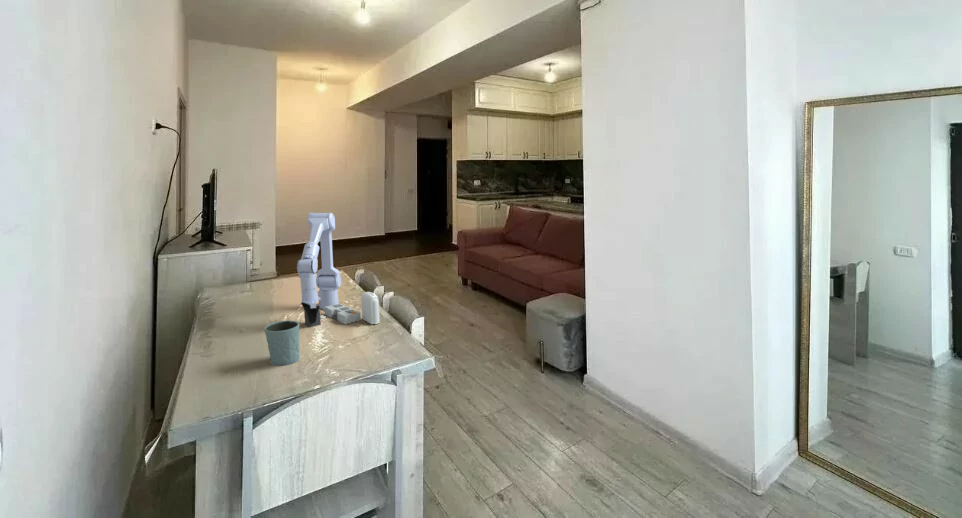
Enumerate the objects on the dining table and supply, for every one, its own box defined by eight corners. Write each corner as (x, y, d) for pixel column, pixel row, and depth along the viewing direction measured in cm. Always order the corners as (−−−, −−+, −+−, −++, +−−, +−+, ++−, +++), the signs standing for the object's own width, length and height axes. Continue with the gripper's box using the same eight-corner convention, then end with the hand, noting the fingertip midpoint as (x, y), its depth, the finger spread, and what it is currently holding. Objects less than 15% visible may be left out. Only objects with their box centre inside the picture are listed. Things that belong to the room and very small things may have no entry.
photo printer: (360, 319, 184) (359, 290, 182) (370, 317, 187) (369, 289, 185) (371, 325, 176) (370, 296, 174) (381, 323, 179) (380, 294, 177)
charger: (305, 324, 178) (304, 309, 177) (322, 320, 183) (321, 306, 182) (310, 327, 175) (309, 312, 173) (327, 322, 180) (326, 308, 178)
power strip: (324, 314, 190) (324, 305, 190) (339, 311, 195) (339, 302, 195) (345, 324, 178) (344, 314, 177) (360, 320, 183) (360, 311, 182)
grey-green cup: (306, 354, 148) (303, 320, 146) (294, 367, 138) (291, 330, 136) (275, 354, 148) (272, 320, 145) (262, 367, 138) (258, 331, 135)
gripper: (323, 291, 170) (325, 324, 173) (315, 283, 183) (318, 314, 185) (303, 293, 167) (306, 327, 169) (297, 285, 179) (300, 317, 182)
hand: (311, 320), depth 177 cm, fingers closed on charger, 5 cm apart
